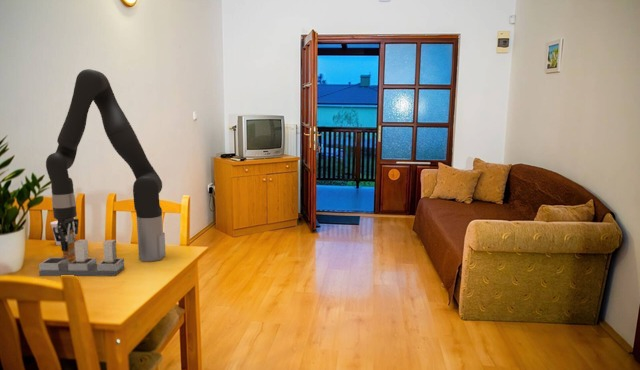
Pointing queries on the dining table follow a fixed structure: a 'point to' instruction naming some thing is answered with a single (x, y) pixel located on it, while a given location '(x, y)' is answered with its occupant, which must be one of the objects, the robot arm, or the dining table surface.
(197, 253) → the dining table surface
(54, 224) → the smoothie
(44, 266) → the rail
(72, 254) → the supplement box
